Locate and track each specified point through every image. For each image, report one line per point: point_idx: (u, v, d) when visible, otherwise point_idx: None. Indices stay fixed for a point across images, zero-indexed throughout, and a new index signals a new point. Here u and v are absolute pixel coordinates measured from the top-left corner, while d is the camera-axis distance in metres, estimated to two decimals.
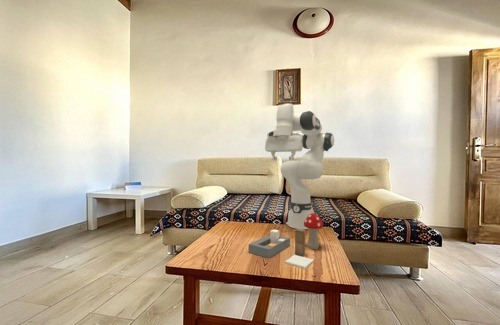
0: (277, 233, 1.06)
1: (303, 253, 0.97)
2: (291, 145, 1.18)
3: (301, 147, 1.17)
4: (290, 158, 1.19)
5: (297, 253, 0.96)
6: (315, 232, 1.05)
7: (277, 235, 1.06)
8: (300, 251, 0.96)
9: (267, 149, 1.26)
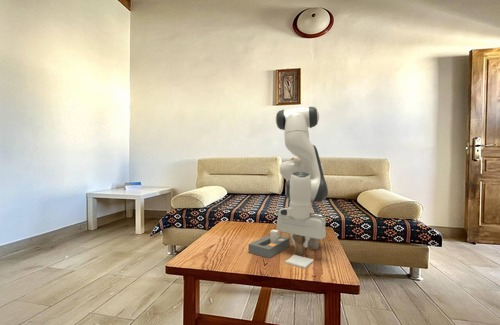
0: (277, 233, 1.06)
1: (303, 253, 0.97)
2: (311, 231, 0.93)
3: (324, 234, 0.92)
4: (304, 245, 0.95)
5: (297, 253, 0.96)
6: None
7: (277, 235, 1.06)
8: (300, 251, 0.96)
9: (279, 229, 1.01)
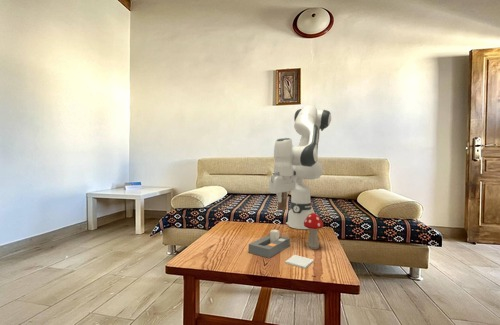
0: (277, 233, 1.06)
1: (280, 208, 1.11)
2: None
3: (271, 189, 1.04)
4: None
5: None
6: (315, 232, 1.05)
7: (277, 235, 1.06)
8: None
9: None
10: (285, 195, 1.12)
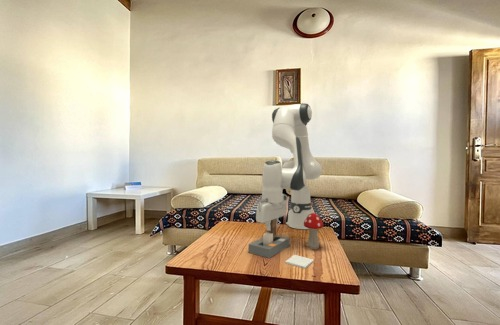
0: (270, 236, 1.01)
1: None
2: None
3: (259, 218, 0.96)
4: None
5: None
6: (315, 232, 1.05)
7: (270, 238, 1.01)
8: None
9: None
10: (274, 222, 1.04)
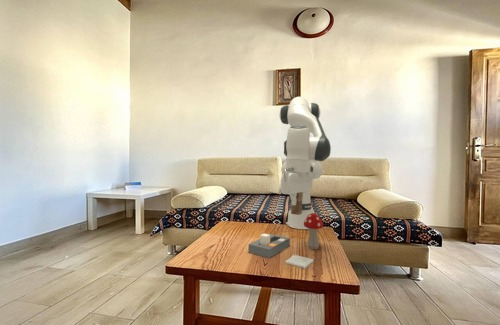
0: (267, 237, 0.99)
1: (295, 212, 0.90)
2: None
3: (284, 189, 0.83)
4: None
5: None
6: (315, 232, 1.05)
7: (268, 240, 0.99)
8: None
9: None
10: (300, 196, 0.90)
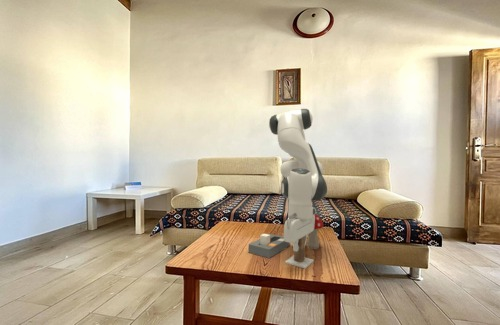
0: (267, 237, 0.99)
1: (297, 259, 0.89)
2: None
3: (287, 238, 0.82)
4: None
5: None
6: (315, 232, 1.05)
7: (268, 240, 0.99)
8: None
9: None
10: (303, 243, 0.89)
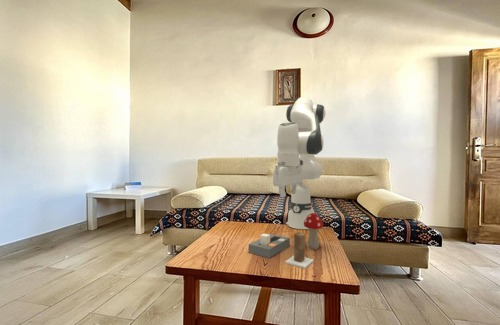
0: (267, 237, 0.99)
1: (297, 259, 0.89)
2: None
3: (276, 182, 0.90)
4: None
5: None
6: (315, 232, 1.05)
7: (268, 240, 0.99)
8: None
9: None
10: (303, 243, 0.89)
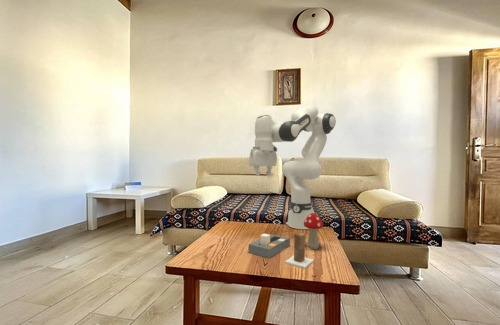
0: (267, 237, 0.99)
1: (297, 259, 0.89)
2: None
3: (251, 162, 1.11)
4: None
5: None
6: (315, 232, 1.05)
7: (268, 240, 0.99)
8: None
9: None
10: (303, 243, 0.89)
